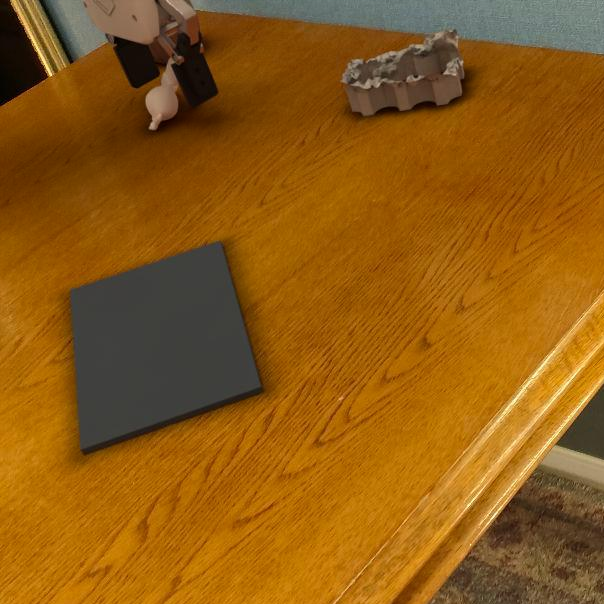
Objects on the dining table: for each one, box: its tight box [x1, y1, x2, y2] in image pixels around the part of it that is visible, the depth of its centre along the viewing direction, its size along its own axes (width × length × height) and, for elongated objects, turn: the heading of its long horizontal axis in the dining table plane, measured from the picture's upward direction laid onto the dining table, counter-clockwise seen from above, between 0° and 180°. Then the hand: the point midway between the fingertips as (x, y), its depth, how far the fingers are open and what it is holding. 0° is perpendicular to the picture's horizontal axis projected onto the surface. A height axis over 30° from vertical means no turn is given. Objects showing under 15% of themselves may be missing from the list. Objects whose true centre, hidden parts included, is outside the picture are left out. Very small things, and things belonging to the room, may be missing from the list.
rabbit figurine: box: [145, 57, 180, 131], centre depth 95 cm, size 6×4×8 cm
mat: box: [69, 240, 265, 456], centre depth 71 cm, size 20×12×1 cm, turn 20°
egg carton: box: [340, 28, 465, 117], centre depth 90 cm, size 11×8×4 cm
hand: (174, 91), depth 95 cm, fingers open, 9 cm apart
